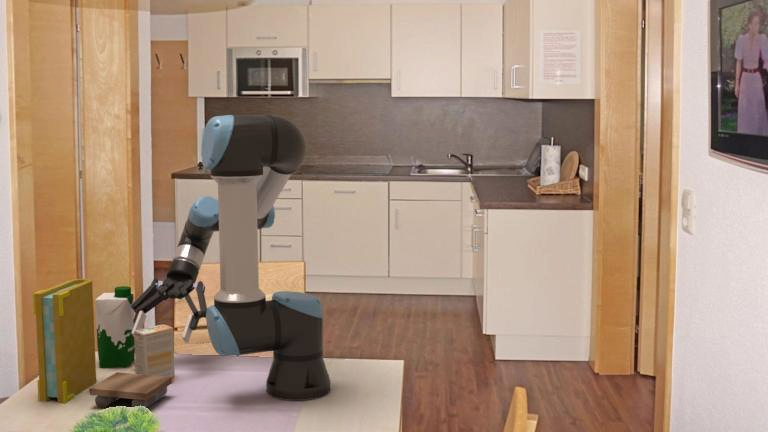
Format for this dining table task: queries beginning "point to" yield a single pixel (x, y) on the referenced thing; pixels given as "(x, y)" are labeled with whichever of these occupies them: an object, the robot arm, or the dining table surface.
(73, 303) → the book
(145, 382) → the slab
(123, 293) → the milk carton
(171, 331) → the supplement box
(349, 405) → the dining table surface
